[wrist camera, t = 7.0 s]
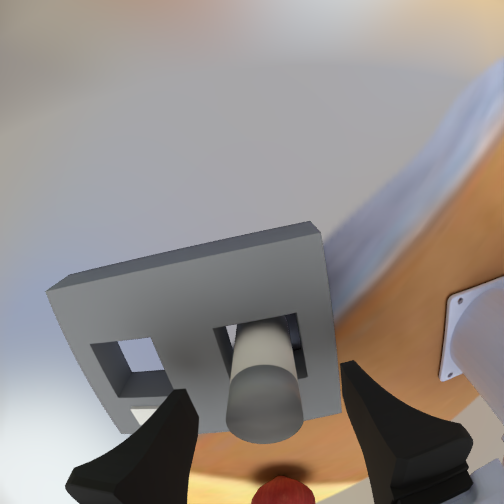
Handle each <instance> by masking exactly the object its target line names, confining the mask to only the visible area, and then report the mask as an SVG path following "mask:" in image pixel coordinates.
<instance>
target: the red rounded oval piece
mask: <svg viewBox="0 0 504 504" xmlns="http://www.w3.org/2000/svg"><path fill="white" fill-rule="evenodd" d="M251 504H315V497H314V495H313V492H312V491H311V490H310V489H309V488H308V487H307V486H306V485H304V484H302V483H301V482H299V481H297V480H294V479H291V478H288V477H286V476H277V477H276V478H274V479H273V480H271V481H270V482H268V483H266V484H264V485H263V486H262V487H260V488H259V489H258V490H257V492H256V494H255V495H254V497H253V498H252V502H251Z"/></svg>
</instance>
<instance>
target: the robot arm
mask: <svg viewBox="0 0 504 504" xmlns="http://www.w3.org/2000/svg"><path fill="white" fill-rule="evenodd" d="M459 298H460V300H459ZM458 300H459V301H458ZM340 368H341V380H342V394H343V399H344V402H345V406H346V410H347V414H348V416H349V419H350V421H351V424H352V426H353V429H354V431H355V434H356V436H357V439H358V441H359V444H360V446H361V449H362V452H363V455H364V459H365V463H366V467H367V471H368V475H369V479H370V484H371V488H372V493H373V498H374V503H375V504H504V457H503V465H502V464H501V462H500V461H499V459H495V460H493V461H491V462H489V463H488V464H486V465H484V466H482V467H481V468H479V469H477V470H476V471H474V472H473V473H472V474H471V475H469V473H468V471H467V470H468V468H469V466H468V464H467V463H466V459H467V457H468V455H469V453H470V451H471V449H472V446H473V439H472V438H471V436H470V434H469V433H468V432H467V430H466V429H465V428H464V427H463V426H462V425H461V424H460V423H455V422H451V421H447V420H443V419H439V418H436V417H433V416H431V415H428V414H426V413H423V412H421V411H419V410H417V409H415V408H413V407H411V406H409V405H407V404H405V403H404V402H402V401H400V400H399V399H397V398H396V397H394V396H393V395H392V394H390V393H389V392H387V391H386V390H385V389H384V388H382V387H381V386H380V385H379V384H378V383H376V382H375V381H374V380H373V379H372V378H371V377H370V376H369V375H368V374H367V373H366V372H365V371H364V370H363V369H362V368H361V367H360V366H359V365H358V364H357V363H356V362H355V361H354V360H352V361H348V362H344V363H340ZM462 373H463V374H464V375H465V376H466V378H467V379H468V380H469V381H470V383H471V384H472V385H473V386H474V387H475V389H476V390H477V391H478V393H479V394H480V395H481V396H482V398H483V399H484V400H485V401H486V403H487V404H488V405H489V406H490V408H491V409H492V410H493V412H494V413H495V414H496V416H497V417H498V419H499V420H500V421H501V423H502V424H503V425H504V276H502V277H500V278H497V279H495V280H492V281H490V282H487V283H484V284H482V285H479V286H476V287H473V288H471V289H468V290H465V291H462V292H459V293H456V294H453V295H452V296H450V297H449V299H448V302H447V315H446V326H445V336H444V345H443V352H442V359H441V366H440V372H439V379H440V380H441V381H446V380H448V379H451V378H453V377H455V376H458V375H460V374H462ZM198 429H199V416H198V414H197V411H196V409H195V407H194V405H193V403H192V401H191V399H190V397H189V395H188V392H187V390H186V388H185V389H174V390H173V391H172V392H171V393H170V394H169V396H168V397H167V398H166V399H165V400H164V402H163V403H162V404H161V405H160V406H159V407H158V409H157V410H156V411H155V412H154V413H153V414H152V415H151V416H150V418H149V419H148V420H147V421H146V422H145V423H144V424H143V425H142V426H141V427H140V428H139V429H138V430H137V431H136V432H134V433H133V434H132V435H131V436H130V437H129V438H127V439H126V440H125V441H124V442H122V443H121V444H119V445H118V446H116V447H115V448H114V449H112V450H110V451H109V452H107V453H106V454H104V455H102V456H101V457H98V458H96V459H94V460H92V461H91V462H88V463H85V464H83V465H80V466H78V467H75V468H74V469H73V471H72V473H71V475H70V477H69V479H68V481H67V483H66V485H65V488H66V490H67V492H68V493H69V494H70V495H71V496H72V497H73V498H74V499H75V500H76V501H77V502H78V503H79V504H187V492H188V481H189V473H190V468H191V464H192V459H193V455H194V451H195V446H196V442H197V437H198ZM501 439H502V440H503V442H504V434H503V436H502V438H501Z"/></svg>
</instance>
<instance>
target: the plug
mask: <svg viewBox="0 0 504 504" xmlns="http://www.w3.org/2000/svg"><path fill="white" fill-rule="evenodd" d="M303 420H304V416H303V409H302V403H301V397H300V391H299V385H298V379H297V373H296V368H295V362H294V356H293V350H292V345H291V339H290V333H289V328H288V323H287V319H286V317H285V316H284V315H282V316H277V317H272V318H267V319H262V320H257V321H251V322H246V323H240V324H237V329H236V337H235V345H234V353H233V362H232V370H231V378H230V387H229V395H228V403H227V412H226V425H227V427H228V429H229V430H230V432H231V433H233V434H234V435H235V436H236V437H238V438H240V439H242V440H244V441H247V442H251V443H257V444H270V443H276V442H280V441H283V440H285V439H288V438H290V437H291V436H293V435H294V434H295V433H296V432H298V430H299V429H300V428H301V426H302V424H303Z"/></svg>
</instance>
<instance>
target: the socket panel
mask: <svg viewBox="0 0 504 504" xmlns="http://www.w3.org/2000/svg"><path fill="white" fill-rule="evenodd" d="M45 292H46V294H47V297H48V299H49V302H50V304H51V307H52V309H53V312H54V314H55V316H56V318H57V321H58V323H59V325H60V327H61V330H62V332H63V334H64V336H65V338H66V340H67V342H68V344H69V346H70V348H71V350H72V352H73V354H74V356H75V358H76V360H77V362H78V364H79V365H80V368H81V369H82V371H83V373H84V375H85V376H86V378H87V380H88V382H89V384H90V386H91V387H92V389H93V391H94V392H95V394H96V395H97V397H98V399H99V401H100V402H101V404H102V405H103V407H104V409H105V410H106V412H107V413H108V415H109V416H110V418H111V419H112V421H113V422H114V424H115V425H116V427H117V428H118V430H119V431H120V433H121V434H133V433H134V432H136V431H137V430H138V429H139V428H140V427H141V426H142V425H143V424H144V423H145V422H146V421H147V420H148V419H149V418H150V416H151V415H152V414H153V413H154V412H155V411H156V410H157V409H158V407H159V406H160V405H161V404H162V403H163V402H164V400H165V399H166V398H167V397H168V396H169V394H170V393H171V392H172V391H173V390H174V389H185V388H186V390H187V392H188V395H189V397H190V399H191V401H192V403H193V405H194V407H195V409H196V411H197V414H198V416H199V429H198V434H201V433H216V432H228V431H230V430H229V429H228V427H227V425H226V412H227V403H228V395H229V387H230V378H231V370H232V362H233V353H234V352H233V349H232V346H231V342H230V339H229V336H228V333H227V329H226V326H228V325H234V324H240V323H246V322H251V321H257V320H262V319H267V318H272V317H277V316H282V315H287V314H292V313H295V314H296V319H297V325H298V330H299V336H300V341H301V347H302V349H300V350H295V351H293V356H294V362H295V368H296V373H297V379H298V385H299V391H300V397H301V403H302V409H303V416H304V420H303V421H305V420H311V419H315V418H320V417H325V416H329V415H334V414H338V413H342V411H341V396H340V383H339V371H338V360H337V349H336V340H335V331H334V322H333V313H332V305H331V298H330V290H329V283H328V276H327V269H326V262H325V256H324V249H323V243H322V237H321V232H320V231H319V230H318V229H317V228H316V227H315V226H314V225H313V224H312V222H311V221H307V222H302V223H298V224H293V225H288V226H283V227H278V228H274V229H269V230H264V231H259V232H255V233H250V234H245V235H241V236H236V237H232V238H227V239H222V240H218V241H213V242H209V243H204V244H200V245H195V246H190V247H186V248H182V249H177V250H173V251H168V252H164V253H160V254H155V255H151V256H147V257H142V258H138V259H133V260H129V261H125V262H121V263H116V264H112V265H108V266H104V267H99V268H95V269H91V270H87V271H83V272H79V273H74V274H70V275H68V276H67V277H65V278H64V279H62V280H61V281H59V282H58V283H57V284H55V285H54V286H52V287H51V288H49V289H48V290H47V291H45ZM148 337H151V339H152V342H153V344H154V346H155V349H156V351H157V353H158V356H159V358H160V360H161V363H162V365H163V367H164V369H165V370H156V371H144V372H132V371H131V370H130V367H129V365H128V363H127V361H126V359H125V358H124V355H123V353H122V351H121V349H120V346H119V344H118V342H117V341H123V340H132V339H140V338H148Z"/></svg>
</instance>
